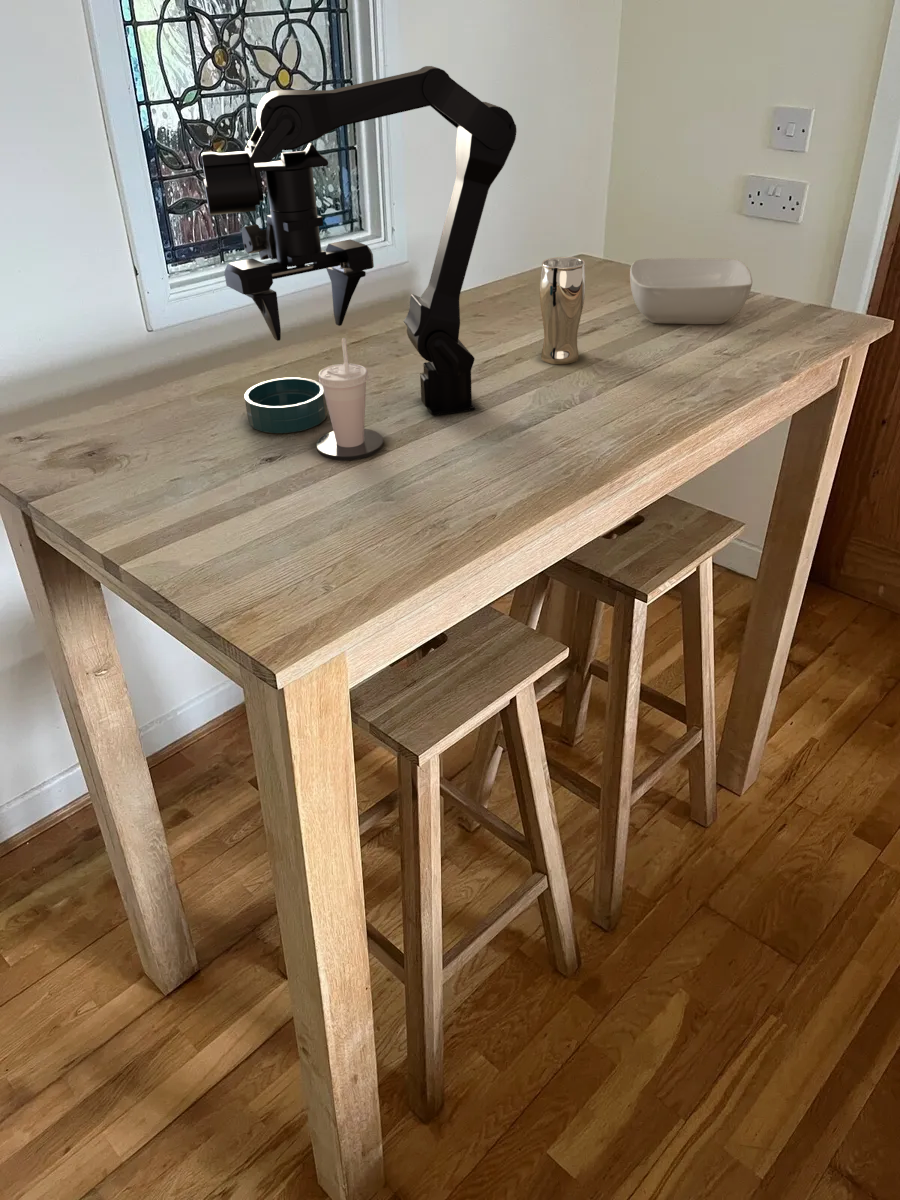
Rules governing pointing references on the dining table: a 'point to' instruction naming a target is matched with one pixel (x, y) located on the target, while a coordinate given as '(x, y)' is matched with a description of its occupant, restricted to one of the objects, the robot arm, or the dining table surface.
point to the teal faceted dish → (285, 405)
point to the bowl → (689, 289)
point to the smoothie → (345, 399)
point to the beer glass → (561, 307)
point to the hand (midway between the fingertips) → (308, 332)
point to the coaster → (333, 451)
